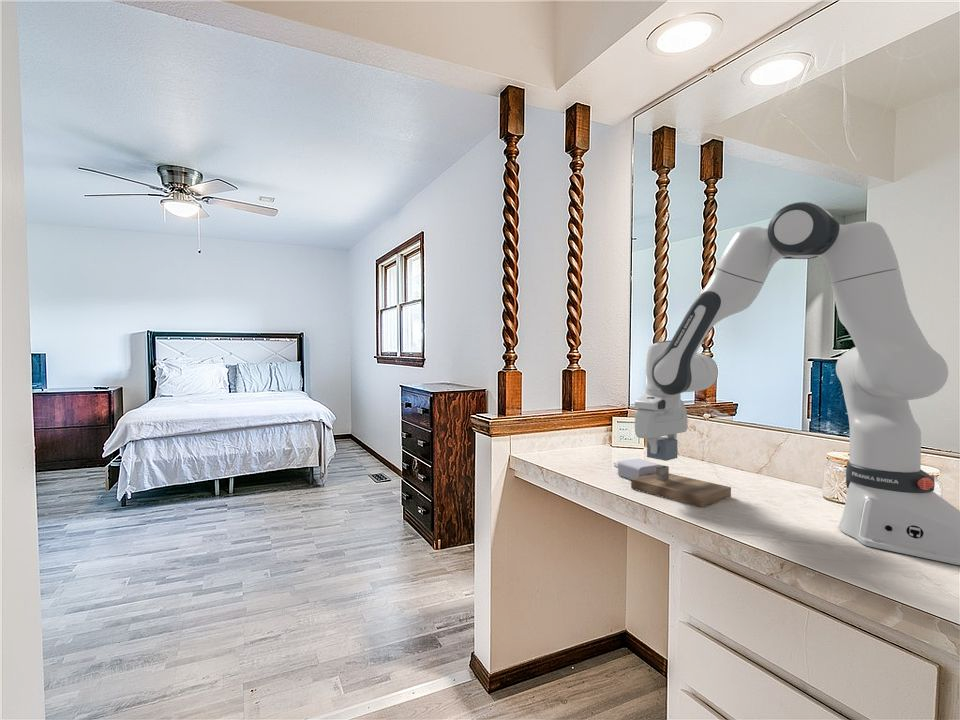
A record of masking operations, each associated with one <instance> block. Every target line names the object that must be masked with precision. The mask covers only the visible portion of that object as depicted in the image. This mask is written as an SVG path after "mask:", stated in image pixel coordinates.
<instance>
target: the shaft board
mask: <svg viewBox="0 0 960 720" xmlns="http://www.w3.org/2000/svg"><path fill="white" fill-rule="evenodd" d="M661 465H662V464H661ZM669 467H670V466H668V465H662V466H658V467H656V473H653V474H649V475H646V476H642V477H638V478H635V479H631V480H630V488H633V489H632V490H635V489H637V490H636V491H638V490H640V491H639V492H642V491H644V492H643V493H646V492H648V493H647V494H650V493H651V494H650V495H653V494H655V495H654V496H657V495H659V496H658V497H661V496H663V497H662V498H665V497H667V498H666V499H669V498H670V500H672V499H674V500H673V501H676V500H677V502H680V501H681V503H684V504H687V503H688V505H691V506H695V507H700V508H702V507H703V508H706V507H708V505H709V506H711V505H713V503H714V504H717V503H719V502H721V500H722V501H724V500H726V499H729V498H732V487H731V486H728V485H724V484H718V483H715V482H709V481H704V480H700V479H695V478H691V477H687V476H682V475H679V474H673V473H669V472H670V471H669V470H670V469H669ZM718 501H719V502H718ZM705 506H706V507H705Z"/></svg>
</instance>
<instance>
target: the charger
mask: <svg viewBox="0 0 960 720" xmlns="http://www.w3.org/2000/svg"><path fill="white" fill-rule="evenodd" d="M658 466H662V464H659V463H656V462H654V461H653V462H652V461H649V460H646V459H642V458H632V459H624V460H619V461H618V460H617V462H615V461H614V462H613V467H614V468H616V469H617V475H618V476H619V477H621V476H622V478H624V479H627V480H630V481H631V479H635V478H638V477H642V476H646V475H649V474H653V473H656V467H658Z"/></svg>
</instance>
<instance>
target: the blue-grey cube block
mask: <svg viewBox="0 0 960 720" xmlns="http://www.w3.org/2000/svg"><path fill="white" fill-rule="evenodd" d="M678 441H679V440H678V439H677V438H676V439H670V438H668V437H667V436H666V437H665V436H661V437H658V441H656V442H657V446H658V447H659V453H657V454H653V453H651V452H650V445H649V442H648V439H646V447H647V448H646V457H647V458H649V459H650V458H651V459H655V460H660V461H666V462H667V461H670V460H675V459H678V446H679V445H678Z"/></svg>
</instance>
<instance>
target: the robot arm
mask: <svg viewBox="0 0 960 720" xmlns="http://www.w3.org/2000/svg"><path fill="white" fill-rule="evenodd" d="M815 258H820V259H822V261H823V262H824V264H825V266H826V268H827V271H828V275H829V280H830V284H831V288H832V294H833V298H834V302H835V307H836V308H835V309H836V311H837V317H838V319H839V322H840V323H841V324H842V325H843V326H844V327H845V328H844V329H845V330H846V331H847V332H848V335H849V336H850V338H851V339H852V342H853V345H854V346H853V347H851V348H850V349H848V350H846V351H845V352H843V353H842V354H841V355H840V356H839V358H838V360H836V361H837V362H836V363H835V374H836V376H837V378H838V380H839V381H840V384H841V388H842V393H843V398H844V402H845V407H846V412H847V416H848V417H847V419H848V424H849V426H848V427H849V461H847V462H846V467H845V484H846V488H847V493H846V499H845V504H844V509H843V513H842V515H841V516H842V517H841V518H840V521H839V524H838V529H839V530H840V531H841V532H842V533H844V534H846V535H848V536H850V537H852V538H854V539H856V540H857V541H858V542H859V543H860V544H862V545H863V546H867V547H871V548H875V549H880V550H885V551H890V552H895V553H899V554H904V555H908V556H915V557H918V558H923V559H927V560H928V559H929V560H931V561H932V560H933V561H937V562H942V563H947V564H951V565H956V566H960V510H959V509H958V508H956V507H955V506H954V505H953V504H951V503H950V502H948V501H946V500H945V499H944V498H943V497H941V496H940V495H938V494H937V493H936V492H934V491H935V481H936V480H935V478H936V477H935V475H934V474H931V475H930V474H929V473H928V472H926V471H925V470H923V469H921V462H922V461H921V459H922V455H921V454H922V453H921V451H922V432H921V428H920V426H919V424H918V422H916V420H915V418H914V416H913V413H912V409H911V406H910V404H909V401H914V400H918V399H920V400H921V399H923V398H928V397H931V396H933V395H935V394H937V393H938V392H939V391H940V390H941V389H942V388H943V387H944V386H945V384H946V383H947V381H948V378H949V367H948V365H947V362H946V360H945V359H944V358H943V356H942V355H941V354H939V352H937V351H936V350H934V348H933V347H932V346H931V345H930V344H929V342H928V341H927V338H926V337H925V335H924V333H923V331H922V330H921V328H920V326H919V325H918V322H917V321H916V319H915V316H914V315H913V312H912V310H911V308H910V306H909V302H908V298H907V294H906V292H905V291H906V290H905V285H904V283H903V278H902V273H901V270H900V265H899V261H898V259H897V255H896V252H895V249H894V246H893V245H892V242H891V240H890V238H889V236H888V234H887V231H886V230H885V229H884V227H883V226H882V225H881V224H879V223H877V222H873V221H864V220H863V221H856V222H851V223H847V224H842V223H841V224H840V223H839V221H838V220H836V218H835V217H834V216H833V215H832V214H831V212H829V211H828V210H827V209H825V208H823V207H822V206H819V205H817V204H815V203H812V202H808V201H806V202H805V201H799V202H793V203H790V204H787V205H785V206H783V207H781V208H780V209H779V210H778V211H777V212H775V213H774V215H773V216H772V217H771V219H770V221H769V223H768V225H767V228H764V227H761V226H747V227H743V228H741V229H738V230H737V232H736V233H735V234H734V235H733V237H732V238H731V239H730V241H729V243H728V244H727V246H726V248H724V251H723V252H722V254H721V256H720V257H719V259H718V261H717V264H716V266H715V268H714V270H713V273H712V275H711V276H710V277H709V280H708V281H707V283H706V285H705V287H704V288H703V290H702V291H701V292H700V294H699V295H698V296H697V297H696V299H695V300H694V301H693V302H692V304H691V306H690V307H689V309H688V310H687V312H686V314H685V315H684V317H683V319H682V321H681V323H680V325H679V326H678V328H677V330H676V331H675V333H674V335H673V337H672V338H671V339H670V340H661V341H657V342H655V343H652V344H651V345H650V346H649V347H648V349H647V353H646V361H645V364H646V367H645V374H646V378H647V384H646V386H645V393H643V395H641V396H640V397H638V398H637V399H635V401H634V408H635V409H636V411H635V414H634V432H635V435H636V437H637V438H640V439H644V440H645V439H646V440H647V439H648V442H649V445H650V452H651V453H653V454H657V453H659V447H658V446H657V442H656V441H658V437H665V436H666V437H668V438H670V439H677V438H678V437H677V436H678V435H677V434H681V433H686V432H687V430H688V426H689V423H688V411H687V408H686V406H685V402H684V401H683V400H682V398H681V394H682V393H687V392H689V393H690V392H691V393H692V392H699V391H704V390H708V389H709V388H712V387H713V386H714V385H715V383H716V382H717V380H718V377H719V370H718V366H717V363H716V361H715V360H714V359H713V358H712V357H710V356H708V355H706V354H702V353H699V352H698V350H699V348H700V347H701V345H702V344H703V342H704V341H705V339H706V337H707V336H708V334H709V332H710V331H711V329H713V327H714V326H715V325H716V324H717V323H719V322H720V321H722V320H724V319H726V318H728V317H730V316H733V315H735V314H738V313H741V312H743V311H745V310H746V309H748V308H749V307H750V306H752V304H753V302H755V300H756V299H757V297H758V296H759V294H760V293H761V290H762V289H763V286H764V284H765V283H766V280H767V278H768V275H769V274H770V271H771V270H772V268H773V267H774V266H775V264H776V263H777V262H778V261H780V260H783V259H784V260H785V259H787V260H788V259H789V260H793V259H794V260H810V259H815Z"/></svg>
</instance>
